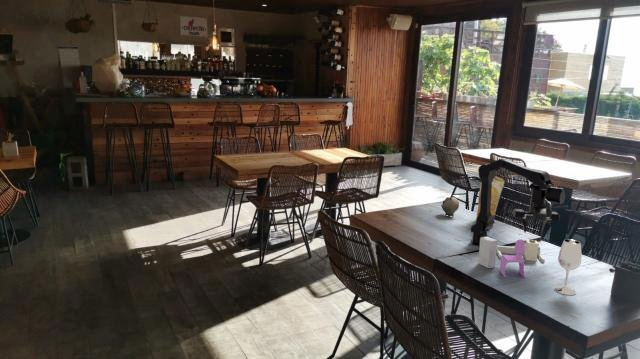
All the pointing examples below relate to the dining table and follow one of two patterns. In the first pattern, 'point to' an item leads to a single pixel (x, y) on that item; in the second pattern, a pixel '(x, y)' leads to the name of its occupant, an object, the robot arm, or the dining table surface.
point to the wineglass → (569, 262)
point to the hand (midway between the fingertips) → (533, 233)
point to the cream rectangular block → (531, 250)
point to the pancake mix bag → (493, 194)
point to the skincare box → (487, 252)
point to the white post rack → (514, 252)
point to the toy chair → (514, 258)
